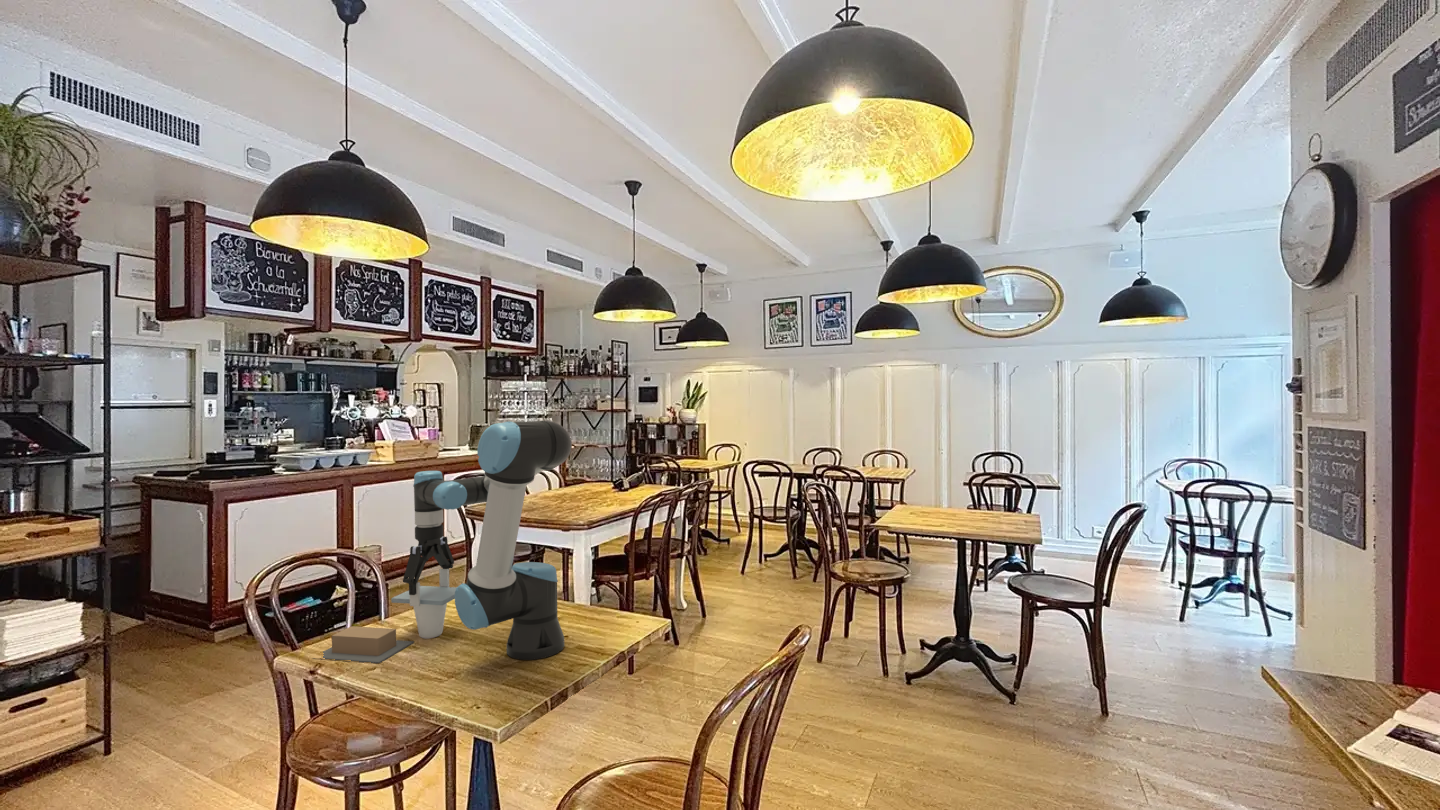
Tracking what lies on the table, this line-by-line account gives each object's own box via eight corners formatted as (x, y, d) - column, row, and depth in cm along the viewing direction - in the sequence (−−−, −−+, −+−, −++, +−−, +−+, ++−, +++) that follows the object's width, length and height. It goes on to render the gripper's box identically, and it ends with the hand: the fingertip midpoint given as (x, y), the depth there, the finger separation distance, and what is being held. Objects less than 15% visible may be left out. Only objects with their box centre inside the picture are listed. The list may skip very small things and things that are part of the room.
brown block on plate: (414, 642, 177) (414, 624, 177) (379, 663, 163) (378, 644, 163) (351, 638, 181) (351, 621, 181) (311, 658, 167) (311, 639, 167)
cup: (439, 641, 178) (439, 602, 178) (405, 641, 178) (404, 602, 178) (455, 628, 188) (454, 591, 188) (422, 628, 188) (421, 591, 188)
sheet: (467, 592, 187) (467, 587, 187) (442, 605, 176) (442, 600, 176) (418, 589, 190) (418, 585, 190) (391, 602, 178) (391, 598, 178)
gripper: (443, 516, 195) (444, 584, 196) (387, 533, 171) (389, 611, 171) (465, 516, 194) (466, 585, 194) (412, 534, 170) (413, 613, 170)
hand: (430, 598), depth 183 cm, fingers open, 13 cm apart
